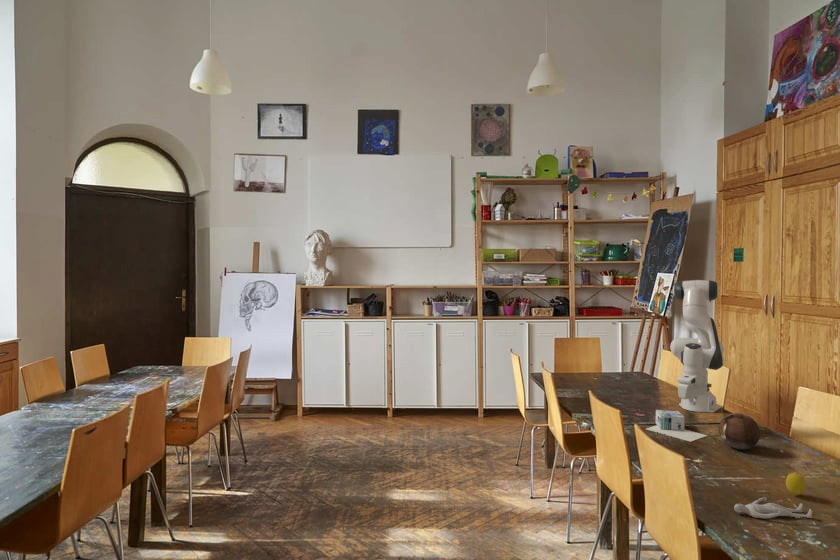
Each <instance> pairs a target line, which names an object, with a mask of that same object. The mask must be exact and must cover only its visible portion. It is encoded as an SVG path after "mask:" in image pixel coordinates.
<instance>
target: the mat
mask: <svg viewBox="0 0 840 560" xmlns="http://www.w3.org/2000/svg"><path fill="white" fill-rule="evenodd" d="M645 430H646V431H647V430H648V431H650V432H655V433H657V432H658V434H662V435H664V434H665V435H664V436H668V437H671V436H672V438H674V439H675V438H676V439H680V440H682V441H683V440H684V441H687V442H691V443H692V442H694V441H695V442H696V441H698V440H701V439H704V438H706V437H708V435H707V434H704V433H700V432H696V431H692V430H688V429H685V428H684V431H683V430H669V429H660V428H659V426H658V425H657V424H655V425H653V426H650V427H647V428H645Z"/></svg>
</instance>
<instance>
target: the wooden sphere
mask: <svg viewBox="0 0 840 560" xmlns="http://www.w3.org/2000/svg"><path fill="white" fill-rule="evenodd" d="M718 431H719V435H720V438H721V439H722V440H723V441H724V443H726V445H728V446H730V447H731V448H733V449H737V450H748V449H751V448H753V447H755V446H756V445H757V444H758V442H760V437H761V430H760V427H759V425H758V424H757V422H756V421H755V420H754V419H753V418H752V417H751V416H749V415H747V414H745V413H744V414H743V413H741V412H734V413H730V414H727V415H726V416H724V417H723V418H722V419H721V420H720V423H719V426H718Z"/></svg>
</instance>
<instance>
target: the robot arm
mask: <svg viewBox="0 0 840 560" xmlns="http://www.w3.org/2000/svg"><path fill="white" fill-rule="evenodd" d="M720 290H721V289H720V286H719V285H718V283H717V281H715V280H704V279H703V280H702V279H694V280H693V279H692V280H691V279H690V280H679V281H676V282H675V283H674V284H673V286H672V294H673V296H674V298H675V299H676V300H679V301H682V317H683V320H684V325H685V328H686V329H687V330H689V331H691V332H693V333H695V334H696V335H697V337H677V338H674V339H673V340H672V341H671V343H670V346H669V349H670V351H671V353H672V355H673V356H675V357H676V358H677V359H678V360H679V361H680V363H681V364H682V366H683V369H682V373H681V374H680V375H679V376H678V377H677V383H678V384H677V396H678V397H679V399H681V400H680V403H679V402H678V403H679V404H678V405H679V406H680V407H681V408H682V409H684V410H687V411H689V412H696V413H715V412H717V411H718V410H720V409H722V405H720V404H717V397H716V396H715V394H714V393H712V392H711V391H710V390H711V389H710V388H712V383H709V380H708V379H709V378H708V377H709V375H708V369H709V370H715V371H717V370H720V369H721V368H722V367H723V366H724V363H725V362H724V361H725V358H724V355H723V354H724V351H725V350H724V345H723V343H722V342H721V341H720V340H719V339H720V338H719V335H718V330H717V325H716V323H715V320H714V318H712V317H711V316H710V314H709V307H708V301H709V303H711V302H713V301H715V300H716V299H718V297H719V294H720Z"/></svg>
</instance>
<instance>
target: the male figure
mask: <svg viewBox="0 0 840 560" xmlns="http://www.w3.org/2000/svg"><path fill="white" fill-rule="evenodd" d="M762 501H763V502H766V501H767V497H760V498H758V499H756V500H754V501H752V502H751V503H748V504H742V503H735V505H734V506H733V509H734V511H735V512H736V513H745V514H746V515H748V516H750V517H751V516H752V518H756V519H757V518H758V519H772V518H776V517H791V518H792V517H795V518H794V519H803V518H802V517H807V518H812V519H813V510H812V509H811V508H809V509H808V512H807V513H806V514H802V513H803V511H804V510H803V508H804V504H803V503H799V505H798V507H797V508H789V507H785V506H782V505H780V504H777V503H773V502H768V503H764V504H759V503H760V502H762ZM792 512H794V513H792ZM800 517H801V518H800Z"/></svg>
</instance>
